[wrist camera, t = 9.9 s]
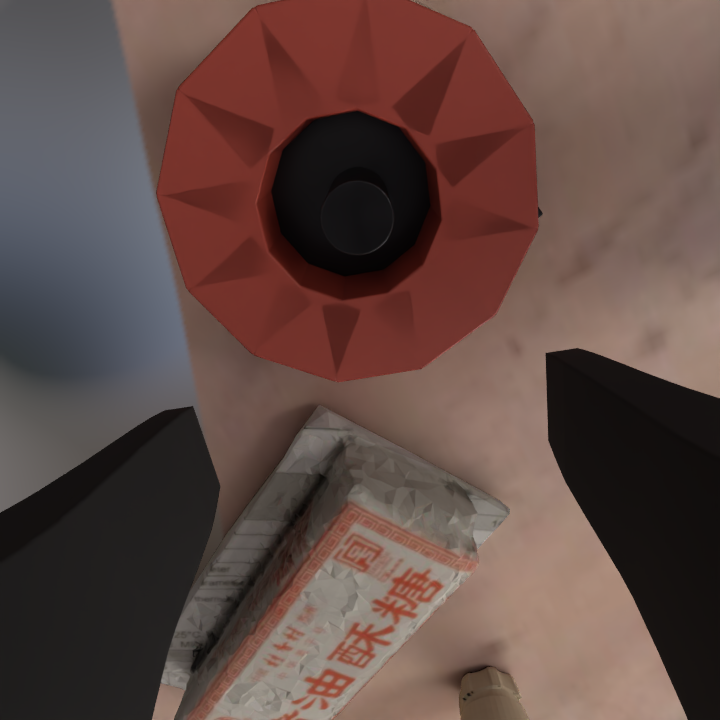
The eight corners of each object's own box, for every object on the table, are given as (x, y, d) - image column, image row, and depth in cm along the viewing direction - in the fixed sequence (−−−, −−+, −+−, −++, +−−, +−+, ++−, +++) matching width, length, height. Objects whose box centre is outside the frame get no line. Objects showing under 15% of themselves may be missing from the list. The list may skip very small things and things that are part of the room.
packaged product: (304, 461, 18) (537, 577, 20) (315, 393, 22) (505, 494, 24) (110, 745, 24) (304, 810, 26) (149, 648, 29) (312, 711, 31)
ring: (372, -84, 15) (374, -125, 12) (573, 218, 18) (607, 234, 16) (122, 178, 18) (82, 188, 15) (336, 397, 21) (332, 435, 19)
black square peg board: (375, -21, 16) (380, -75, 12) (535, 209, 19) (589, 238, 15) (177, 178, 19) (119, 198, 14) (345, 357, 22) (340, 421, 17)
